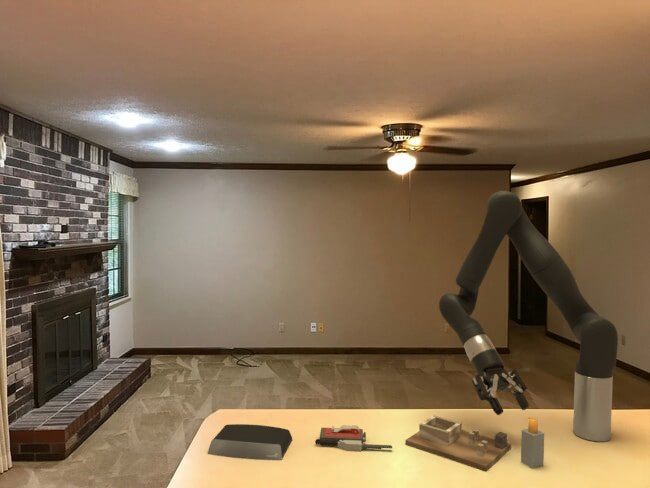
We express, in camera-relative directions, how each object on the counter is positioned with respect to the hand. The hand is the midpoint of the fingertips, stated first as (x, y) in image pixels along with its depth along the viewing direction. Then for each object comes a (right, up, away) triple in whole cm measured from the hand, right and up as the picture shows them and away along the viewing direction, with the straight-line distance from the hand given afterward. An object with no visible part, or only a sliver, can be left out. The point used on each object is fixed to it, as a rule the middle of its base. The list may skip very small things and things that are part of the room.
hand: (513, 411), depth 129 cm
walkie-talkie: (-40, -11, +5) cm, 42 cm away
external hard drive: (-67, -11, +3) cm, 68 cm away
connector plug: (+3, -11, -5) cm, 13 cm away
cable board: (-13, -11, +4) cm, 17 cm away
